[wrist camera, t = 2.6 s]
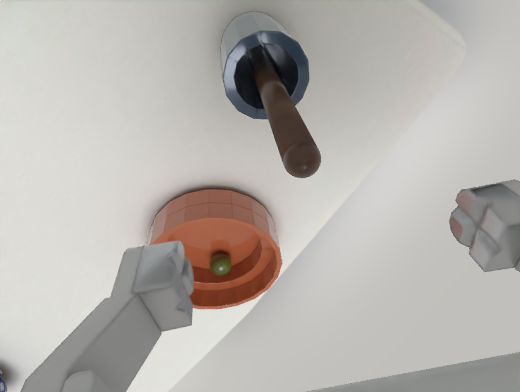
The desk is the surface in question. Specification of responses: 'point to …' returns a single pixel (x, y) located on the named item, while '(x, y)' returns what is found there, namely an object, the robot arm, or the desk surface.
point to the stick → (284, 118)
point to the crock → (278, 50)
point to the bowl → (222, 244)
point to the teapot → (2, 384)
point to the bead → (220, 264)
